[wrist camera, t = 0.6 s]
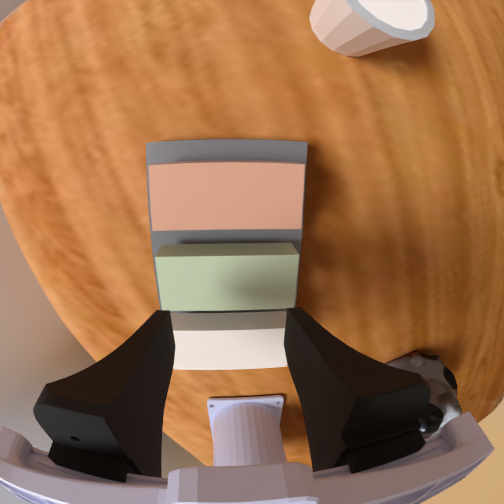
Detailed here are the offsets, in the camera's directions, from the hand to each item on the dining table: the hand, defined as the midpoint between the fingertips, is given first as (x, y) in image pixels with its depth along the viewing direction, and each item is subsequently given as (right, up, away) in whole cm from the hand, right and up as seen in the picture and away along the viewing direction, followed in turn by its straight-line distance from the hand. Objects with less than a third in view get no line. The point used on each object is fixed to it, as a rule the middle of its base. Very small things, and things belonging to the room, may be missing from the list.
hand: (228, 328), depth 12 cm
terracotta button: (0, +7, +4) cm, 8 cm away
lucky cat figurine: (+17, -13, +17) cm, 28 cm away
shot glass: (+8, +20, +3) cm, 22 cm away
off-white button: (-1, -2, +8) cm, 8 cm away
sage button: (-1, +2, +6) cm, 6 cm away
